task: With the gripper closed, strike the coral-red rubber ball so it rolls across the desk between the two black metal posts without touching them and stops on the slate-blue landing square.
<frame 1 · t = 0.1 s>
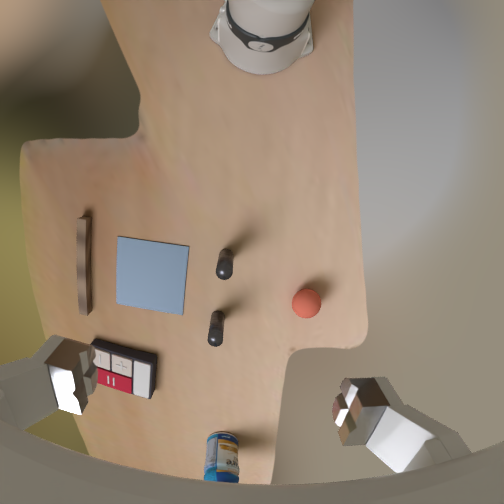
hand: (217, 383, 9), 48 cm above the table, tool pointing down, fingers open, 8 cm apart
beverage bottle: (222, 440, 72), on the table
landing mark: (150, 276, 58), on the table
ball: (306, 303, 58), on the table
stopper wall: (86, 265, 57), on the table
outer post: (217, 316, 61), on the table
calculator: (124, 364, 65), on the table
inner post: (226, 255, 58), on the table
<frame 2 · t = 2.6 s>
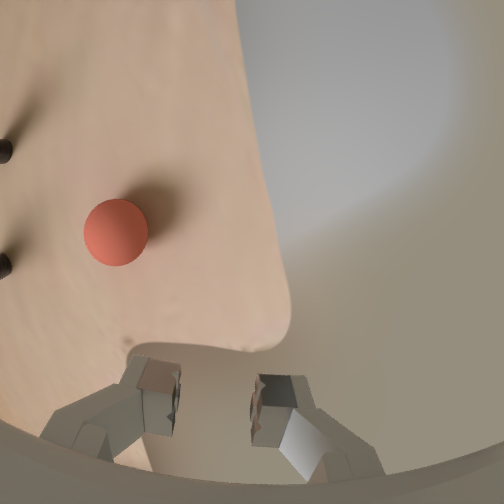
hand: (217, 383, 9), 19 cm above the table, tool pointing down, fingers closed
ball: (115, 232, 24), on the table
outer post: (3, 264, 27), on the table
inner post: (4, 151, 24), on the table
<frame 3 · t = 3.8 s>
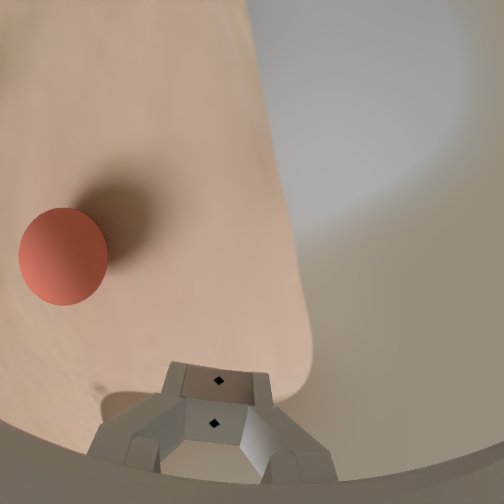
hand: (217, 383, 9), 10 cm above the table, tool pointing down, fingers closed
ball: (62, 256, 15), on the table
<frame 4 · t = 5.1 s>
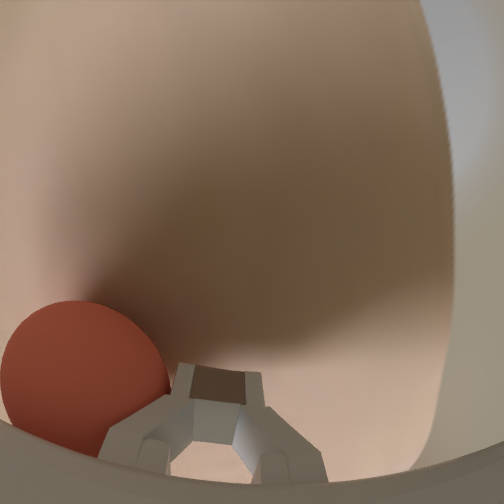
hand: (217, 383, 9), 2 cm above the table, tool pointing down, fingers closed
ball: (84, 389, 8), on the table, touching gripper
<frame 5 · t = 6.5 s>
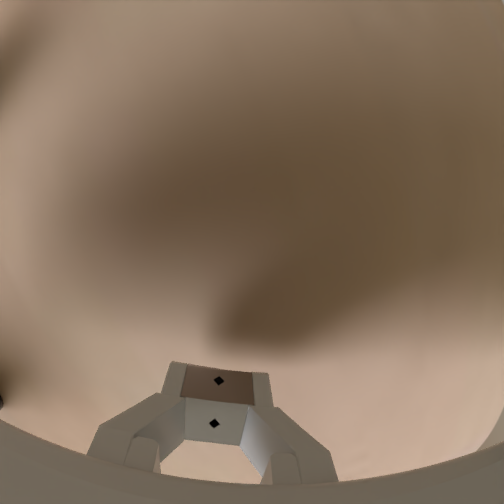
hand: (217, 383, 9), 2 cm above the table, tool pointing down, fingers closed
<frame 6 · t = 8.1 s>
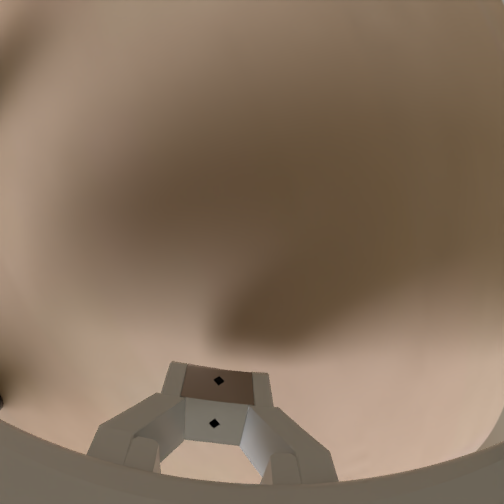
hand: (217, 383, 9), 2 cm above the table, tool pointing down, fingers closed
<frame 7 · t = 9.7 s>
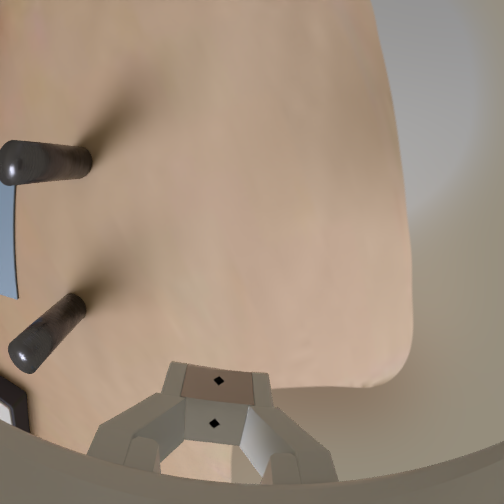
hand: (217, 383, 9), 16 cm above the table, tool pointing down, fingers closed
outer post: (73, 307, 25), on the table
inner post: (78, 162, 22), on the table
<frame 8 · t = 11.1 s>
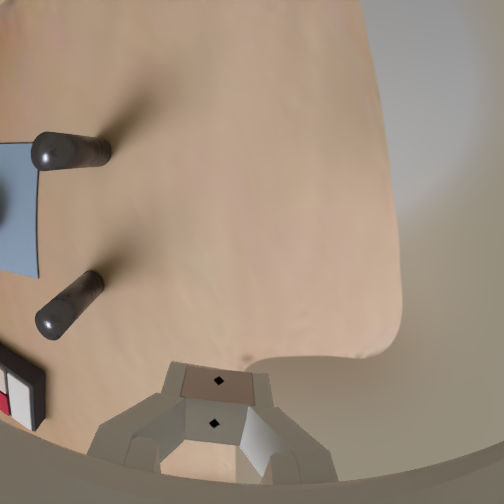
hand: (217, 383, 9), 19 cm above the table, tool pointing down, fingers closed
outer post: (92, 283, 28), on the table
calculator: (5, 369, 32), on the table
inner post: (98, 152, 25), on the table
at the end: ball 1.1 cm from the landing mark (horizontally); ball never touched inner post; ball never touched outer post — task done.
